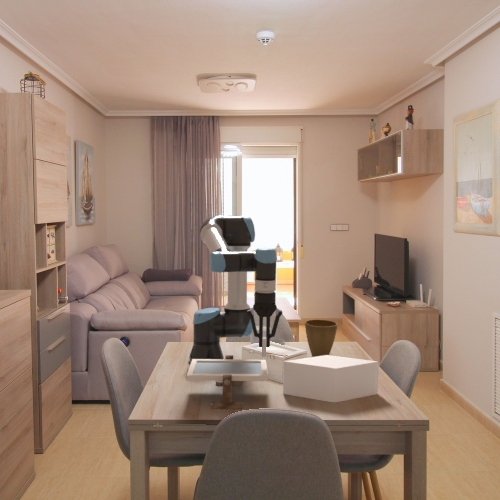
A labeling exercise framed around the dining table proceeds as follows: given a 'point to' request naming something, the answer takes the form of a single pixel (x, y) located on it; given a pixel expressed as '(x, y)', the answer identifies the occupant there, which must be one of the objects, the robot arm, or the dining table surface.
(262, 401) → the dining table surface
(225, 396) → the walnut stand
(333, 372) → the block
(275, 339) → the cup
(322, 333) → the plant pot
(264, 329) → the candle holder
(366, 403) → the dining table surface
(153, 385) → the dining table surface
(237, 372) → the tilted frame
